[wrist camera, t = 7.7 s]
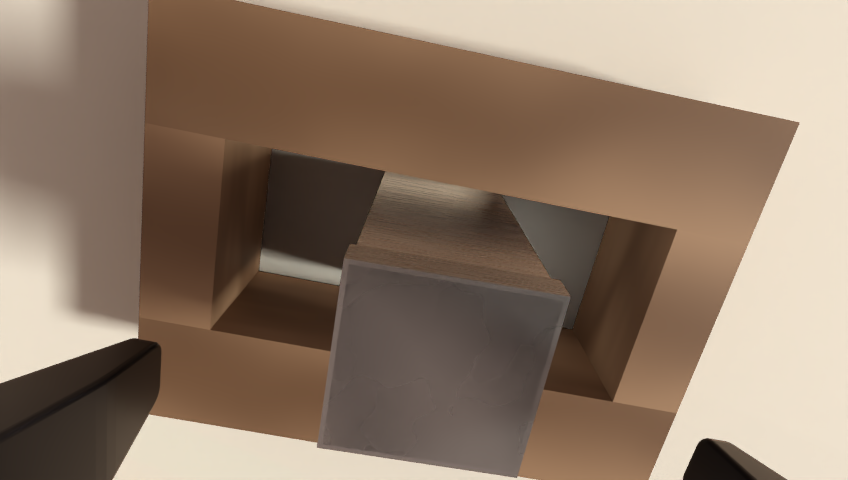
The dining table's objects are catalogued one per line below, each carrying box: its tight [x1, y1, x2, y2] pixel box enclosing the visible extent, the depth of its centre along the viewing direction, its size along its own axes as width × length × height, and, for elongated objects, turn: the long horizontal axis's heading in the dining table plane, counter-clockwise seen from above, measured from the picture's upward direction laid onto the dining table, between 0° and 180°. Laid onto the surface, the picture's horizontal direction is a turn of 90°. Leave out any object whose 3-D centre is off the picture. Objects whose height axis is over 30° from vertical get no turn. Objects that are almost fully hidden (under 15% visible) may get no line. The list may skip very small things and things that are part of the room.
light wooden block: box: [317, 171, 571, 478], centre depth 14 cm, size 4×4×9 cm
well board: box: [138, 0, 799, 480], centre depth 16 cm, size 12×16×4 cm
